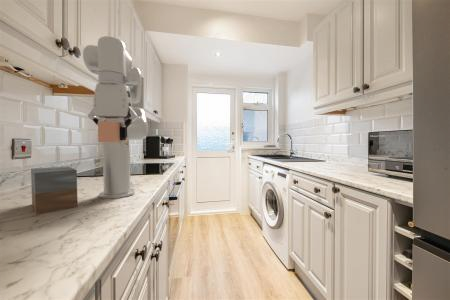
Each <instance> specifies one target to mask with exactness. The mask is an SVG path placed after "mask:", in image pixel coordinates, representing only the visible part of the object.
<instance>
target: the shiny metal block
mask: <svg viewBox="0 0 450 300" xmlns="http://www.w3.org/2000/svg"><path fill="white" fill-rule="evenodd" d="M77 170H78V169H75V168H73V167H71V166H53V167H40V168H39V167H38V168H31V169H30V177H31V178H30V179H31V181H30V182H31V205H32V207H33V211H34V213H35V215H40V214H45V213H51V212H57V211H61V210H66V209H73V208H78V207H79V206H78V179H77V178H78V173H77V172H78V171H77Z"/></svg>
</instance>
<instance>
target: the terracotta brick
mask: <svg viewBox="0 0 450 300" xmlns="http://www.w3.org/2000/svg"><path fill="white" fill-rule="evenodd" d="M120 127H121V123H120V122H116V121H98V126H97V134H98V135H97V137H98V138H97V141H98V143H102V142H123V143H127V142H128V140H127V138H126V140H120Z"/></svg>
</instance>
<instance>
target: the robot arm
mask: <svg viewBox="0 0 450 300" xmlns="http://www.w3.org/2000/svg"><path fill="white" fill-rule="evenodd" d="M82 58H83V59H82V61H83V62H84V65H85V67H86V68H87V69H88V71H89V72H90V73H92V74H95V75H97V76H98V77H97V78H98V83H96V84H95V89H94V96H93V108H92V109H91V110H90V112H89V113H88V115H87V117H88V118H89V119H90V120H91V121H93V123H94V124H95V125H97V127H98V121H116V122H120V123H121V127H120V140H126V138H127V141H128V140H129V141H130V140H131V141H132V140H133V141H134V140H135V141H136V140H137V141H138V140H144V139H146V138H147V137H148V134H149V124H148V120H147V119H148V118H147V115H146V112H145V110H144V109H143V108H141V107H134V106H133V104H138V103H140V102H141V100H142V99H141V98H142V86H143V85H142V82H143V81H142V80H143V79H142V78H143V77H142V72H141V71H140V69H139V68H138V67H136V66H133V61H132V60H133V59H132V57H131V56H130V54H129V53H128V51H127V50H126V45H125V43H124V42H123V41H122V40H121V39H119V38H117V37H113V36H108V35H106V36H101V37H100V38H98V40H97V45H94V44H93V45H92V44H87V45H86V46H85V47H84V48H83V50H82ZM101 144H102V168H103V170H102V173H103V176H102V179H103V181H102V182H103V191H101V192H99V193H98V197H99V198H101V199H118V198H119V199H120V198H121V199H122V198H126V197H129V196H133V195H134V194H135V189H132V188H131V185H132V182H133V181H131V159H130V158H131V152H130V148H129V147H128V146H127V145H126V144H125V142H101Z"/></svg>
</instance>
